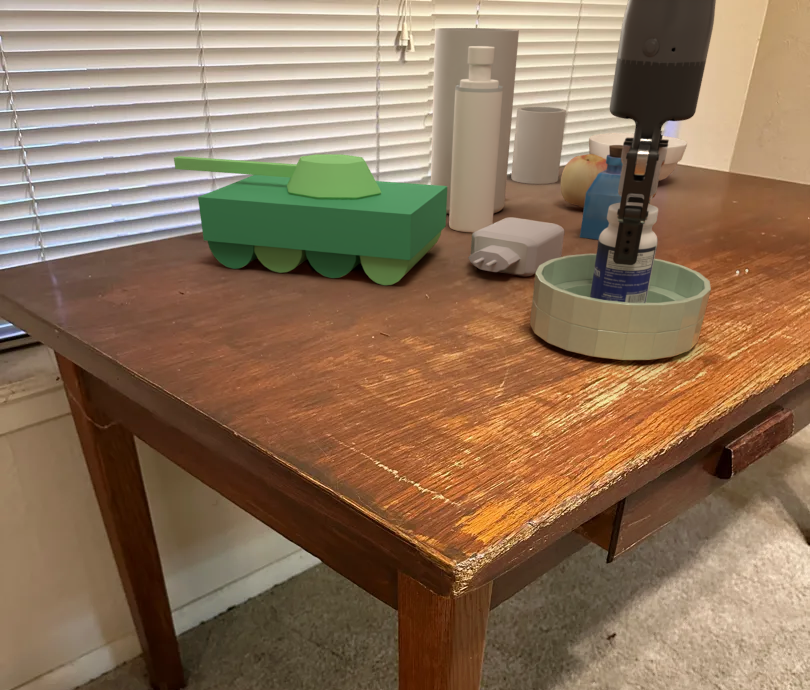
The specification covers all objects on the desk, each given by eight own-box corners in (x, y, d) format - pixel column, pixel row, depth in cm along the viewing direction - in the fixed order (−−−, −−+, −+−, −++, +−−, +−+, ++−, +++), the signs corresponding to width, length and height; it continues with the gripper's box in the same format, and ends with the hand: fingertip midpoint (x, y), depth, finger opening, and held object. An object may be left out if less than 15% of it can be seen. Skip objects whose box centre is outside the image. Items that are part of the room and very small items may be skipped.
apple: (583, 200, 133) (591, 150, 129) (621, 210, 127) (630, 158, 123) (546, 206, 129) (552, 154, 125) (583, 216, 123) (591, 162, 119)
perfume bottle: (620, 243, 110) (636, 151, 103) (579, 237, 113) (592, 147, 106) (632, 234, 115) (648, 145, 108) (593, 228, 117) (606, 142, 110)
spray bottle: (451, 221, 120) (460, 31, 105) (493, 223, 119) (508, 32, 104) (446, 231, 114) (455, 33, 100) (490, 233, 114) (505, 34, 99)
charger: (446, 278, 95) (499, 251, 106) (512, 291, 91) (560, 262, 102) (448, 239, 92) (502, 215, 103) (516, 250, 89) (565, 225, 99)
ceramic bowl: (716, 327, 82) (730, 271, 79) (665, 380, 70) (679, 317, 67) (569, 297, 90) (576, 245, 86) (501, 340, 78) (507, 282, 75)
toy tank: (206, 139, 106) (448, 154, 98) (217, 231, 113) (444, 252, 105) (135, 159, 92) (411, 178, 84) (153, 262, 99) (409, 289, 91)
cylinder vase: (432, 199, 133) (437, 27, 118) (503, 201, 132) (517, 28, 117) (427, 215, 123) (432, 30, 108) (504, 218, 122) (520, 31, 107)
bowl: (627, 169, 158) (633, 130, 154) (698, 184, 146) (708, 142, 142) (564, 177, 150) (569, 137, 146) (634, 194, 138) (642, 150, 134)
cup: (521, 184, 144) (528, 113, 137) (504, 175, 151) (510, 107, 144) (565, 183, 146) (574, 112, 139) (546, 174, 153) (554, 106, 146)
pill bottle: (592, 297, 81) (607, 198, 76) (646, 304, 80) (666, 203, 74) (584, 314, 77) (600, 210, 71) (641, 321, 76) (662, 216, 70)
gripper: (709, 61, 59) (663, 279, 69) (705, 51, 70) (666, 240, 80) (611, 58, 61) (580, 271, 71) (622, 49, 72) (594, 234, 82)
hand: (626, 254), depth 75 cm, fingers closed on pill bottle, 5 cm apart
